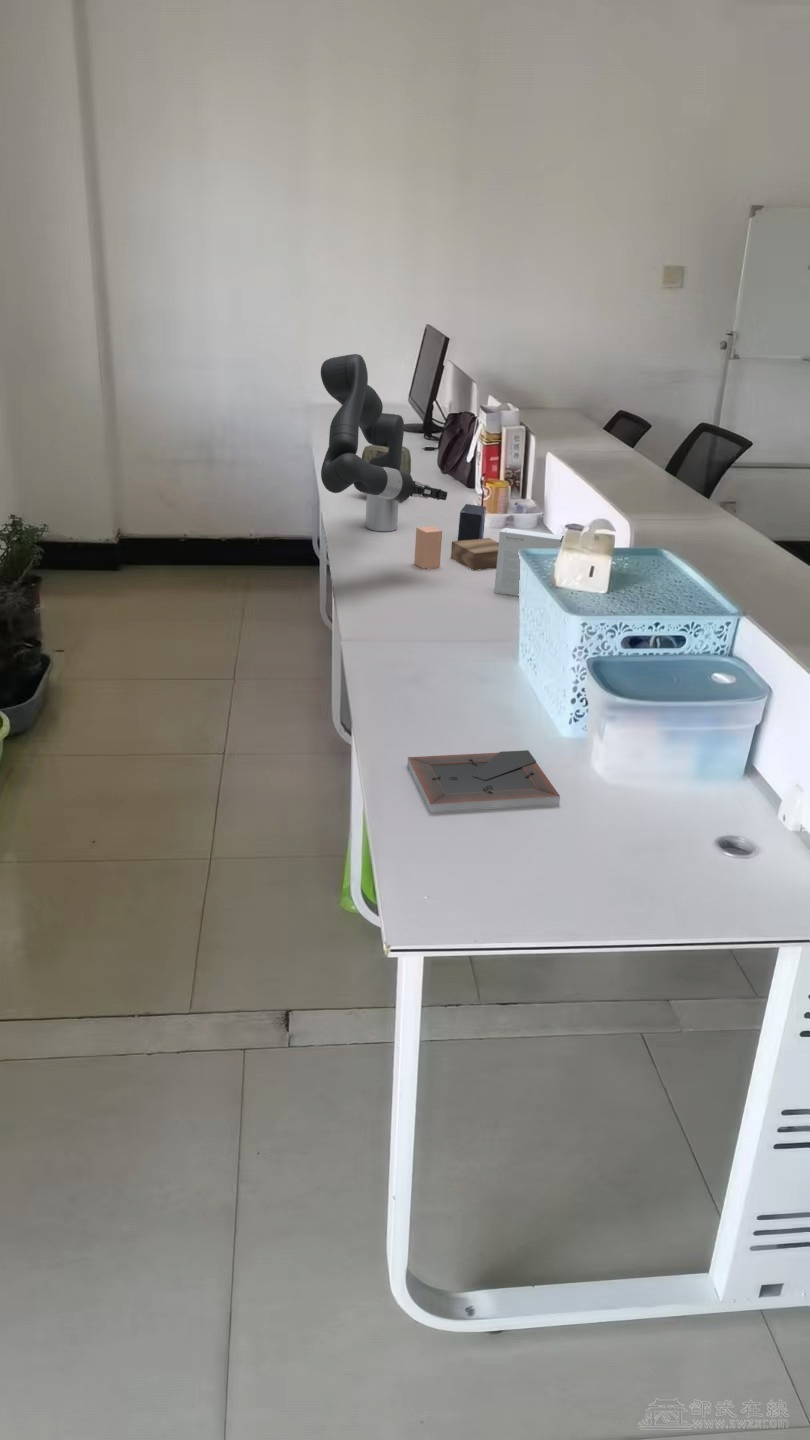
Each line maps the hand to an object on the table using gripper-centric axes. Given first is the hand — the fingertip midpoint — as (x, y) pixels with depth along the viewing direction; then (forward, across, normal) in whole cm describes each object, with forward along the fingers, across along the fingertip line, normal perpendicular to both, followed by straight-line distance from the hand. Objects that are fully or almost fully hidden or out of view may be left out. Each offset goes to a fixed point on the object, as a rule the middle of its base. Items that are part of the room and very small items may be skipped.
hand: (433, 493), depth 286 cm
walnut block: (+22, -2, +16) cm, 27 cm away
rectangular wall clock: (-70, -90, +46) cm, 123 cm away
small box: (+32, +11, +12) cm, 36 cm away
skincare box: (+12, -31, +20) cm, 38 cm away
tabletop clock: (+45, +63, +5) cm, 78 cm away
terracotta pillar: (+7, +3, +19) cm, 20 cm away
